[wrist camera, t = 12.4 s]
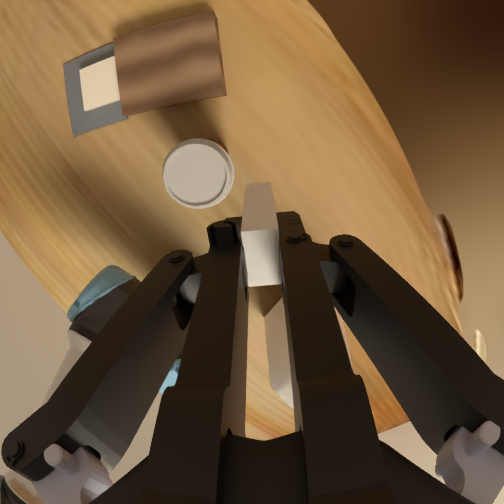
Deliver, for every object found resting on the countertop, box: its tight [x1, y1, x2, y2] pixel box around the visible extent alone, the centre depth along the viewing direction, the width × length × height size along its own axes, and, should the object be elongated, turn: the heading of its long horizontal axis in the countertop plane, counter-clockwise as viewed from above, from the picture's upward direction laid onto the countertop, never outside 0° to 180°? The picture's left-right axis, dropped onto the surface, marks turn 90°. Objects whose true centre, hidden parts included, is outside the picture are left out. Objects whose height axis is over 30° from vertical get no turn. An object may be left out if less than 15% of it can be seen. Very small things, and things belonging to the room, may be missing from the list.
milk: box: [264, 297, 353, 409], centre depth 49 cm, size 12×12×26 cm
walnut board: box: [113, 11, 227, 117], centre depth 34 cm, size 14×16×4 cm
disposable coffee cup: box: [162, 138, 234, 209], centre depth 39 cm, size 10×10×12 cm
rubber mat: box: [63, 43, 128, 137], centre depth 37 cm, size 15×12×1 cm
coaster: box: [79, 56, 120, 111], centre depth 36 cm, size 8×8×2 cm
